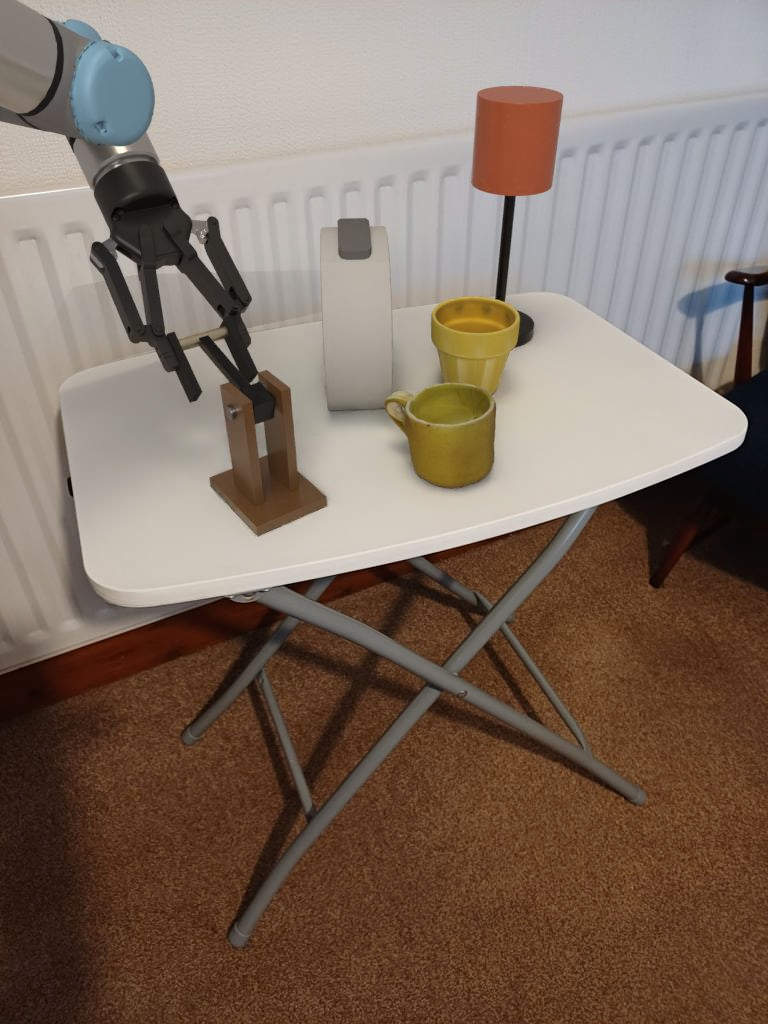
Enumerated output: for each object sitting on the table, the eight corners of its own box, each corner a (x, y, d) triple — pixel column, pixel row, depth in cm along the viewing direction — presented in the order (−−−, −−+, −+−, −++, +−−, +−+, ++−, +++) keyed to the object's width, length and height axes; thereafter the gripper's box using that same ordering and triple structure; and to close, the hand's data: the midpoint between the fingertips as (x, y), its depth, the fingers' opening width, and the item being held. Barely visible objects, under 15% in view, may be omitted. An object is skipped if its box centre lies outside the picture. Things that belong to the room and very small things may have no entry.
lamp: (466, 349, 106) (484, 104, 87) (456, 317, 114) (471, 86, 95) (539, 347, 106) (573, 103, 88) (525, 316, 114) (552, 85, 95)
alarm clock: (328, 344, 107) (320, 194, 95) (382, 343, 107) (382, 193, 95) (327, 429, 90) (318, 260, 78) (392, 426, 91) (393, 258, 78)
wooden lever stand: (210, 486, 82) (191, 377, 74) (276, 460, 85) (265, 354, 77) (257, 536, 76) (242, 423, 68) (327, 506, 79) (320, 395, 71)
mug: (530, 449, 84) (505, 375, 77) (470, 514, 80) (440, 442, 74) (447, 424, 92) (419, 355, 86) (390, 481, 88) (356, 414, 82)
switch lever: (175, 352, 79) (173, 333, 77) (224, 338, 81) (223, 318, 80) (238, 431, 73) (238, 411, 71) (289, 412, 75) (290, 393, 73)
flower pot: (455, 416, 93) (461, 340, 86) (413, 378, 100) (415, 305, 94) (528, 396, 96) (538, 321, 90) (482, 360, 103) (488, 289, 97)
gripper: (203, 184, 87) (291, 374, 87) (33, 217, 78) (131, 428, 78) (219, 142, 80) (314, 348, 80) (35, 174, 71) (142, 404, 71)
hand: (224, 387), depth 79 cm, fingers closed on switch lever, 5 cm apart
